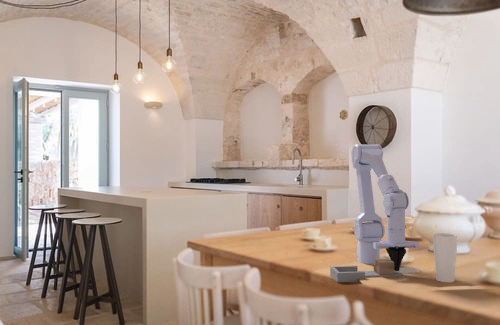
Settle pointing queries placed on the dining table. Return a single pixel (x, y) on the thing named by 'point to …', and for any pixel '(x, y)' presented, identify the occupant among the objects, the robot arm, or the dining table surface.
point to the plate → (408, 270)
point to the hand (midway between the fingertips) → (396, 270)
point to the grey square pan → (354, 274)
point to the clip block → (383, 266)
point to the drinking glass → (445, 256)
